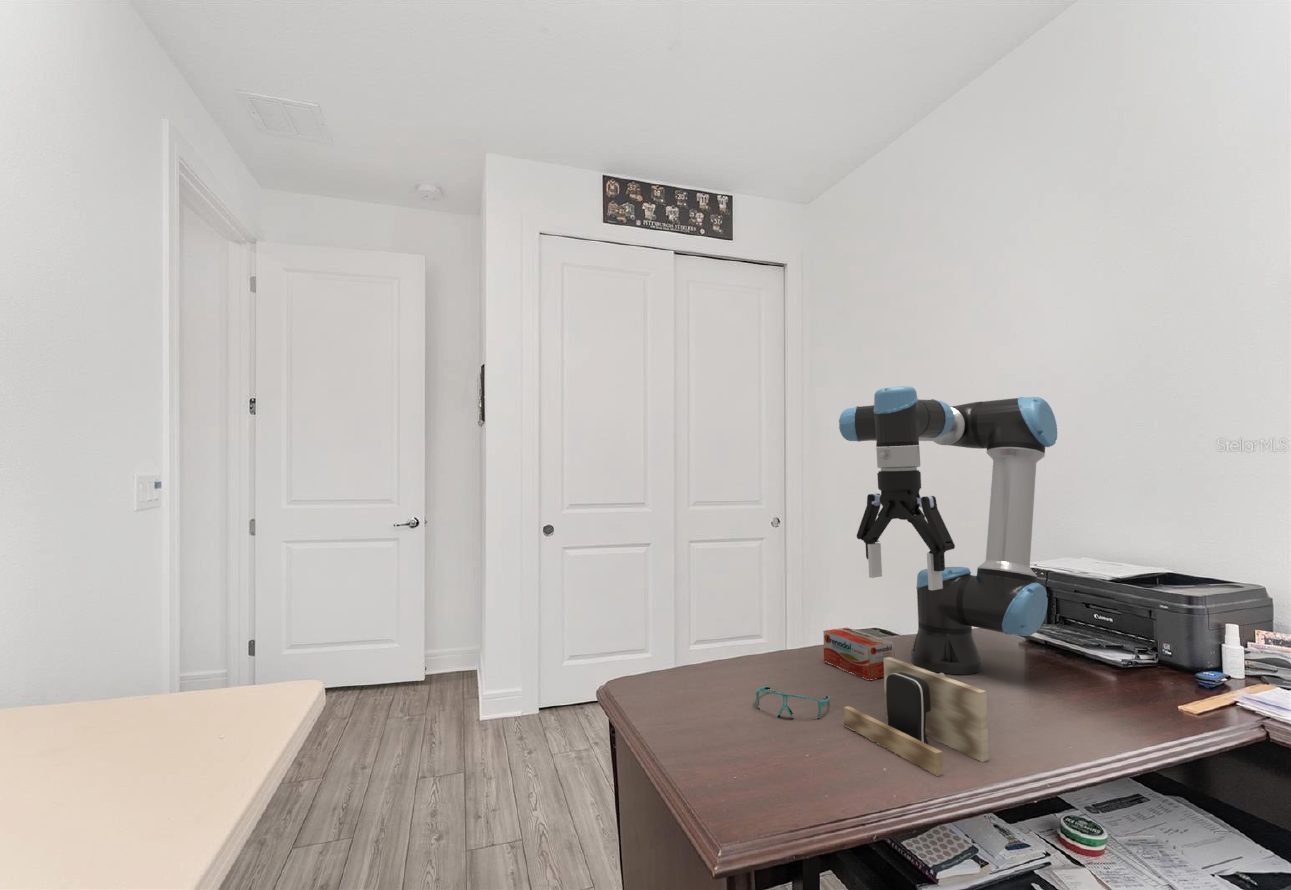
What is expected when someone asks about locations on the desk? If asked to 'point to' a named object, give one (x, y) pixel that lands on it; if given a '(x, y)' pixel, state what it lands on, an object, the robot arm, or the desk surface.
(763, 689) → the sunglasses
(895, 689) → the battery charger
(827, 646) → the medicine box
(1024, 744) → the desk surface
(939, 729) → the wooden boards
